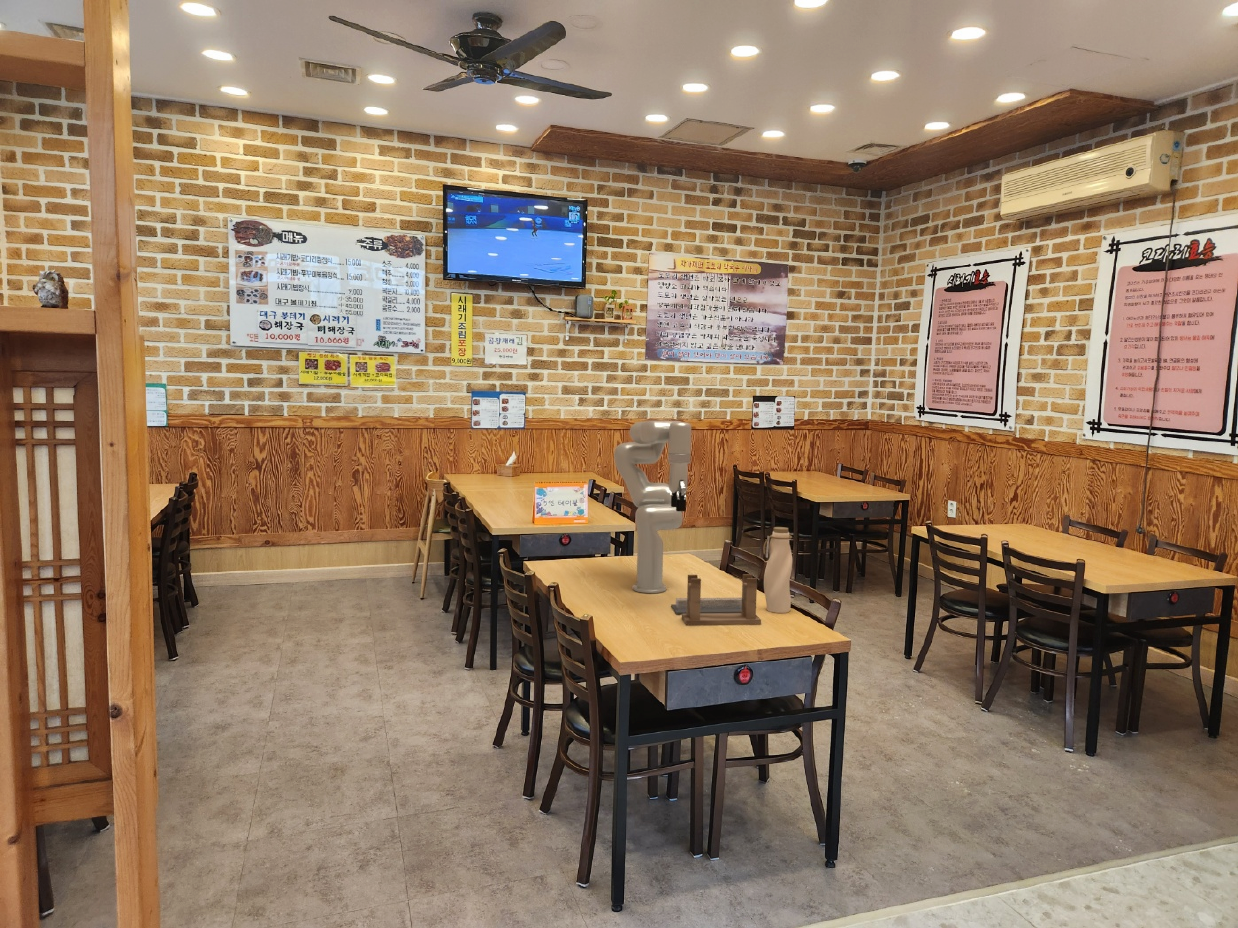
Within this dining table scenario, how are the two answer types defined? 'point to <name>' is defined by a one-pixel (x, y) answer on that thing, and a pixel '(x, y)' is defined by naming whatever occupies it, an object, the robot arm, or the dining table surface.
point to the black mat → (705, 610)
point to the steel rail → (712, 603)
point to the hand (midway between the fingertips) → (678, 508)
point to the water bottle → (778, 571)
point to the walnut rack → (742, 618)
